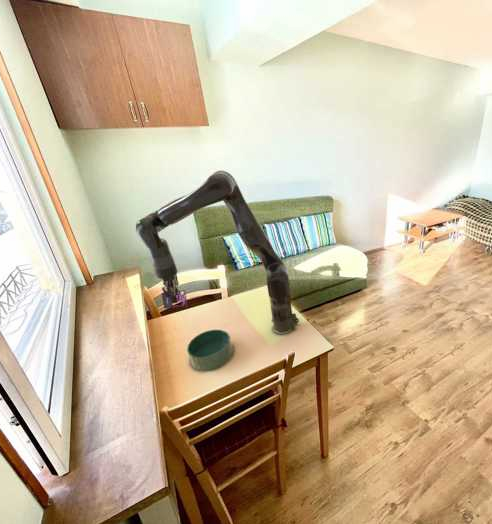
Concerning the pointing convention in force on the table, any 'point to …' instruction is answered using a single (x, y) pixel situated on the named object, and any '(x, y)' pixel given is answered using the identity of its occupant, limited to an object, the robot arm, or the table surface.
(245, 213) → the robot arm
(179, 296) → the game card
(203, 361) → the bowl
